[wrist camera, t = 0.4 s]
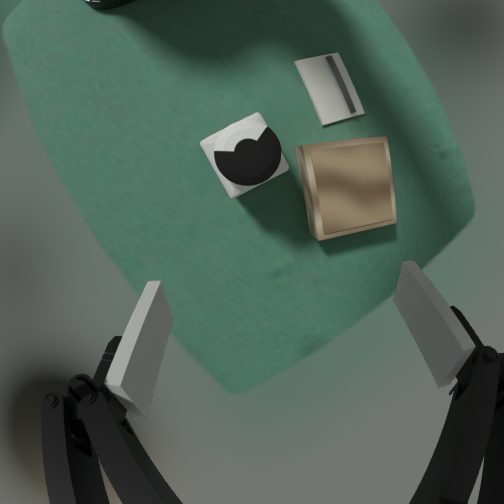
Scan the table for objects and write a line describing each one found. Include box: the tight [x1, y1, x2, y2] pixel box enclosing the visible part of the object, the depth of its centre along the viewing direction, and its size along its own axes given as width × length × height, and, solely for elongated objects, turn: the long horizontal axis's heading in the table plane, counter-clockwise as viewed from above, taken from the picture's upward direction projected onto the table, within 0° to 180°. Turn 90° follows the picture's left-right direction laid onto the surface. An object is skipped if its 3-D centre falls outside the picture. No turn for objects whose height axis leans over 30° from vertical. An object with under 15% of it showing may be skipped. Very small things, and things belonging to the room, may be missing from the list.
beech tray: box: [295, 136, 397, 241], centre depth 34 cm, size 12×12×4 cm
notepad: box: [294, 53, 365, 125], centre depth 31 cm, size 10×7×2 cm
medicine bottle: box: [200, 113, 289, 199], centre depth 28 cm, size 7×7×12 cm
